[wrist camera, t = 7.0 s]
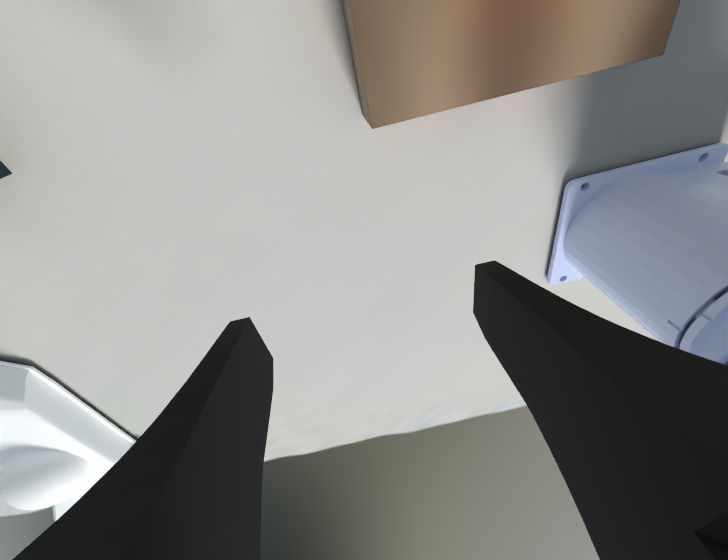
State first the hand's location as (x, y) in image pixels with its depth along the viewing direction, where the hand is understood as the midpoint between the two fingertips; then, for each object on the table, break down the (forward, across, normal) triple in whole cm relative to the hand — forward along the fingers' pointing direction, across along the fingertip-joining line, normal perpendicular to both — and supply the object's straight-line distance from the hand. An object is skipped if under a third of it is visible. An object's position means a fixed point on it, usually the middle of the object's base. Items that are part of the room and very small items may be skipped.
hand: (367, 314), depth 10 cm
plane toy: (+10, +27, +14) cm, 32 cm away
